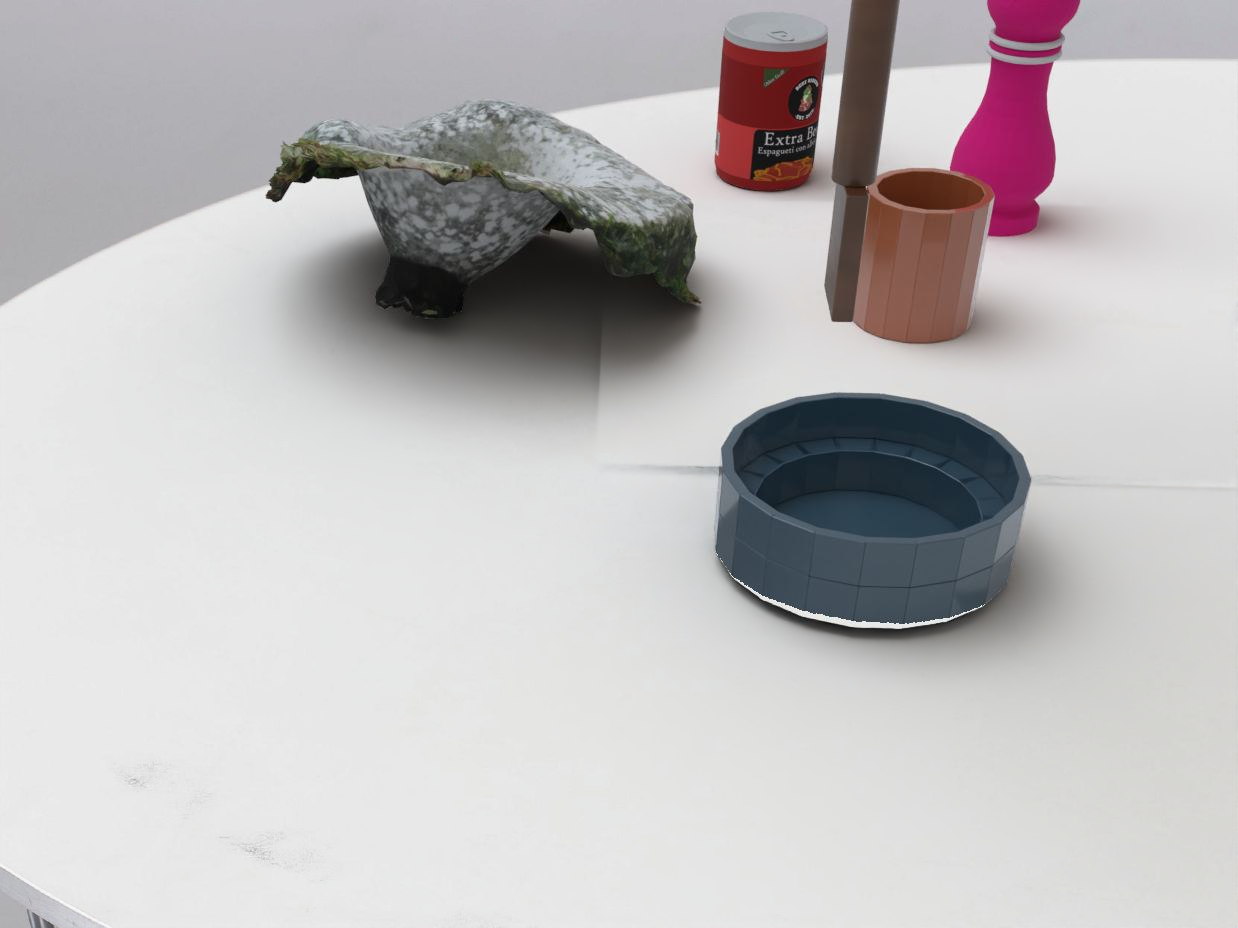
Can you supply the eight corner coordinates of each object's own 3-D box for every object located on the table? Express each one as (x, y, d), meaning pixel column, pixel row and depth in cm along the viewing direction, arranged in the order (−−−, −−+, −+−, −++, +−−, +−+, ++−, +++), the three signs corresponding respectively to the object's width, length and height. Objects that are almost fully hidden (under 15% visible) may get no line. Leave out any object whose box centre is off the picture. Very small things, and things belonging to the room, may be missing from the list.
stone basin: (226, 300, 94) (243, 16, 90) (278, 300, 122) (292, 85, 119) (732, 353, 95) (770, 77, 91) (666, 341, 124) (692, 130, 120)
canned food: (758, 200, 125) (772, 48, 118) (692, 169, 130) (701, 22, 123) (834, 178, 128) (852, 30, 121) (766, 149, 133) (779, 5, 126)
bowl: (983, 485, 92) (1001, 395, 88) (1033, 644, 80) (1056, 548, 76) (709, 478, 93) (716, 388, 89) (718, 634, 81) (727, 538, 77)
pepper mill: (1024, 254, 116) (1086, -52, 104) (926, 234, 119) (974, -66, 107) (1055, 220, 121) (1117, -77, 108) (959, 201, 124) (1010, -89, 111)
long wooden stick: (854, 287, 80) (930, -293, 65) (863, 323, 77) (944, -278, 62) (813, 286, 80) (878, -293, 65) (820, 322, 77) (890, -278, 62)
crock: (959, 302, 110) (983, 168, 105) (977, 353, 104) (1003, 214, 99) (844, 300, 111) (862, 166, 105) (856, 350, 105) (875, 212, 99)
